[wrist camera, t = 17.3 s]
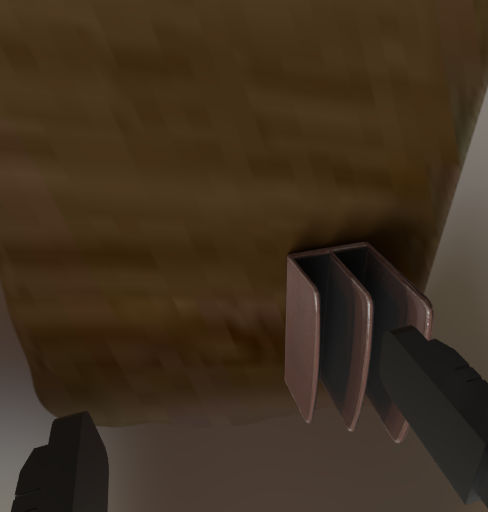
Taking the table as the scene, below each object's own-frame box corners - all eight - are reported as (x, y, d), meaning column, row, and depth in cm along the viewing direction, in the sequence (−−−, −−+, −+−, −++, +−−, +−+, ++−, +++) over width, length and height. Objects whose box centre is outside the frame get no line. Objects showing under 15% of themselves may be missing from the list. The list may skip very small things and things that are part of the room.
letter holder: (366, 239, 48) (448, 311, 36) (350, 364, 58) (410, 453, 46) (285, 252, 46) (343, 333, 34) (283, 379, 56) (327, 476, 44)
